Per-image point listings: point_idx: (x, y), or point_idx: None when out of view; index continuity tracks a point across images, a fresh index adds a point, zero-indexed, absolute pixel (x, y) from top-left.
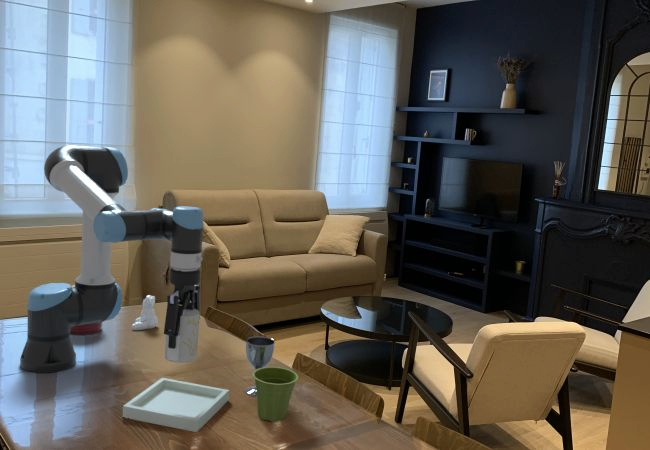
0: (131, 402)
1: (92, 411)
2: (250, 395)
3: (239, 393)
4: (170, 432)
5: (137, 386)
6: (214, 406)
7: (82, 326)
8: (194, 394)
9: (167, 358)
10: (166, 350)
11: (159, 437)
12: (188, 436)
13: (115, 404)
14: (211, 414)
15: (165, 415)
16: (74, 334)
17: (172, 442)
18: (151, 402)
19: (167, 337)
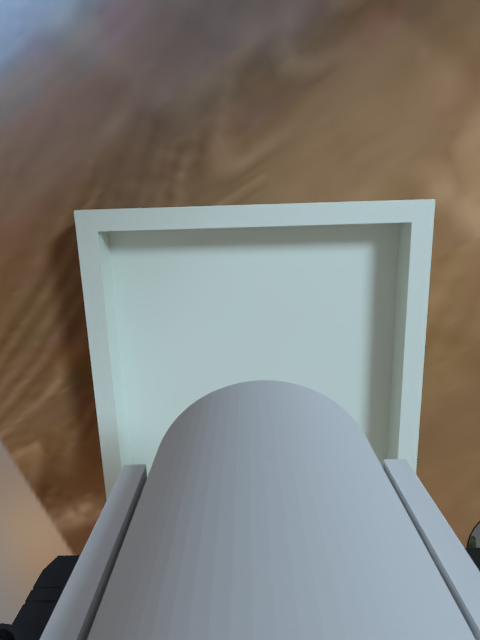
0: (120, 223)
1: (75, 60)
2: (470, 538)
3: (475, 498)
4: (79, 422)
5: (390, 86)
6: None
7: None
8: (374, 376)
9: (123, 468)
10: (159, 458)
11: (31, 407)
12: (85, 482)
13: (178, 110)
14: None
15: (97, 401)
16: None
17: (25, 457)
18: (229, 259)
19: (126, 547)
